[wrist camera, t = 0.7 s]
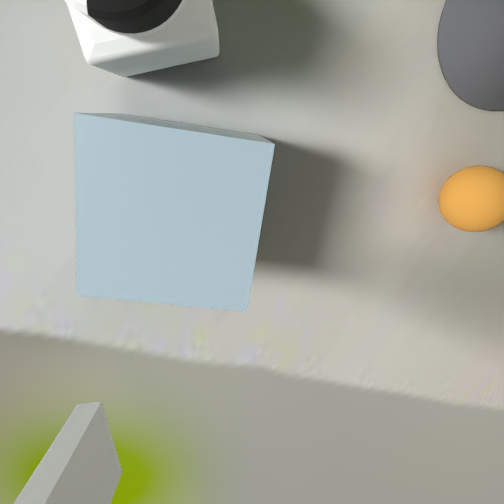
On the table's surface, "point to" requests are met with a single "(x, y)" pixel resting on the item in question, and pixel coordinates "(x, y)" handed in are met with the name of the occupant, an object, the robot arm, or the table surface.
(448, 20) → the disc
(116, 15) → the medicine bottle
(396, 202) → the table surface
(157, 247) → the pale blue cube
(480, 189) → the ball
